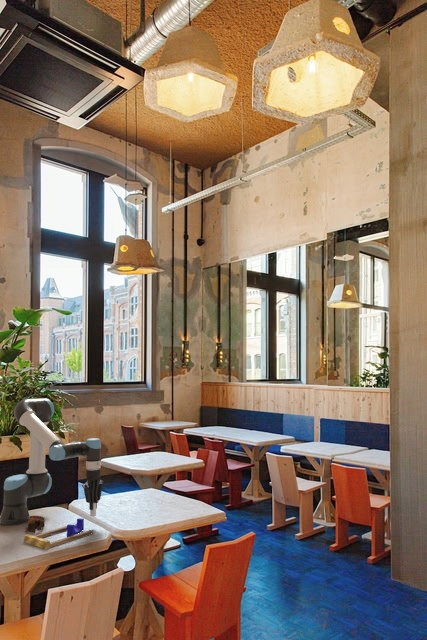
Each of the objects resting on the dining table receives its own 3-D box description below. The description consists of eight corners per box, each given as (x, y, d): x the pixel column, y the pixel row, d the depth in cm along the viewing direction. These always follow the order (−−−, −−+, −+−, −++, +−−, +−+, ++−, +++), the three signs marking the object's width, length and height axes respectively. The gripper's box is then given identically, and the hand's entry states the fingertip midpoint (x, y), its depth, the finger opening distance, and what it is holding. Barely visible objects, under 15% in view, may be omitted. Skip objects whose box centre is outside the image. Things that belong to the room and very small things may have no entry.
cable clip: (75, 530, 258) (75, 518, 259) (83, 530, 257) (83, 518, 258) (63, 537, 246) (64, 525, 247) (72, 538, 245) (72, 525, 246)
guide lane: (23, 541, 240) (24, 535, 240) (70, 527, 262) (70, 521, 262) (45, 549, 230) (46, 542, 230) (92, 533, 252) (92, 527, 252)
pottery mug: (19, 532, 256) (24, 515, 261) (35, 537, 262) (39, 520, 267) (34, 530, 250) (39, 513, 255) (50, 535, 256) (54, 517, 260)
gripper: (88, 471, 258) (87, 519, 255) (107, 467, 268) (107, 514, 266) (78, 470, 262) (78, 517, 260) (98, 466, 273) (98, 512, 270)
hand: (93, 515), depth 263 cm, fingers closed
